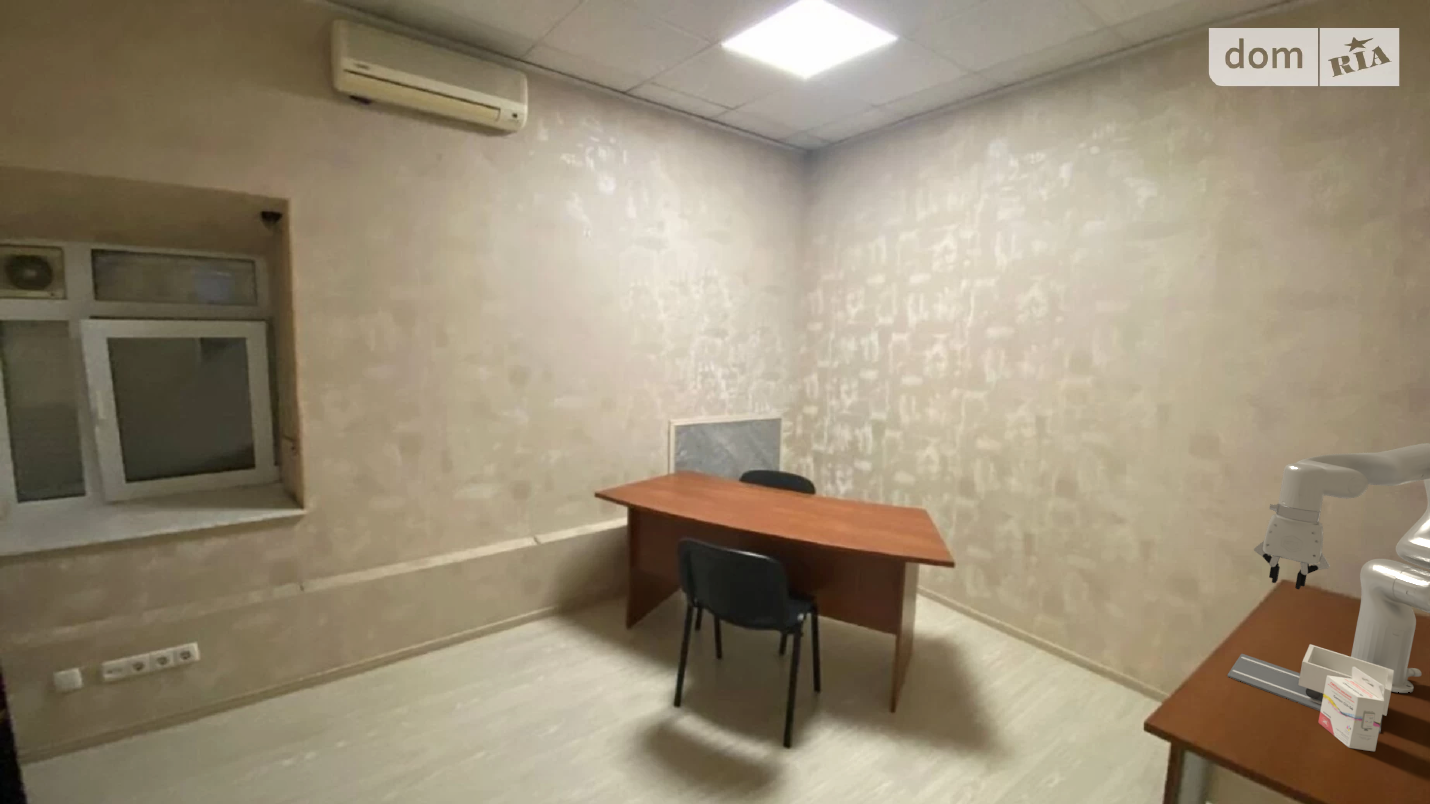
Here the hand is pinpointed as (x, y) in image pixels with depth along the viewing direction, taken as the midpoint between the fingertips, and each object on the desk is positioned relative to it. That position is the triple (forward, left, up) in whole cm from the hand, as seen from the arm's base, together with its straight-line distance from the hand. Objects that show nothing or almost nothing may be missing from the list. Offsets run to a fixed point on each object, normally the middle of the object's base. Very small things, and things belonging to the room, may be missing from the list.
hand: (1286, 584), depth 146 cm
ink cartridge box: (+6, +22, -26) cm, 34 cm away
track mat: (-4, +5, -25) cm, 26 cm away
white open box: (-8, +10, -24) cm, 27 cm away
